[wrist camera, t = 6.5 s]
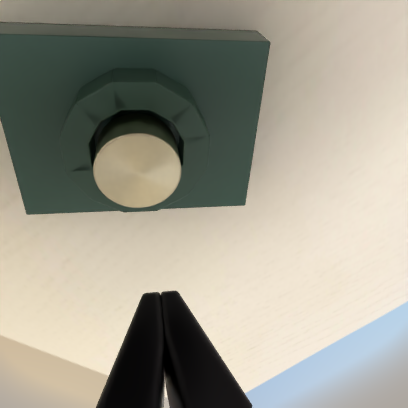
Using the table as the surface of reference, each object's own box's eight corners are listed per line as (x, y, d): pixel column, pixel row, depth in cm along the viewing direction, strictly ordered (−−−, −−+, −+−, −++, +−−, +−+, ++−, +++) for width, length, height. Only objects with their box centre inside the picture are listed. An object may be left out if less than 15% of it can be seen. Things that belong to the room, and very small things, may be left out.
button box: (257, 30, 18) (284, 52, 15) (236, 185, 24) (253, 225, 20) (-7, 21, 16) (-41, 44, 13) (34, 191, 22) (18, 237, 19)
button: (177, 112, 16) (182, 133, 15) (176, 182, 18) (180, 206, 17) (92, 112, 16) (87, 134, 14) (101, 184, 18) (97, 210, 16)
